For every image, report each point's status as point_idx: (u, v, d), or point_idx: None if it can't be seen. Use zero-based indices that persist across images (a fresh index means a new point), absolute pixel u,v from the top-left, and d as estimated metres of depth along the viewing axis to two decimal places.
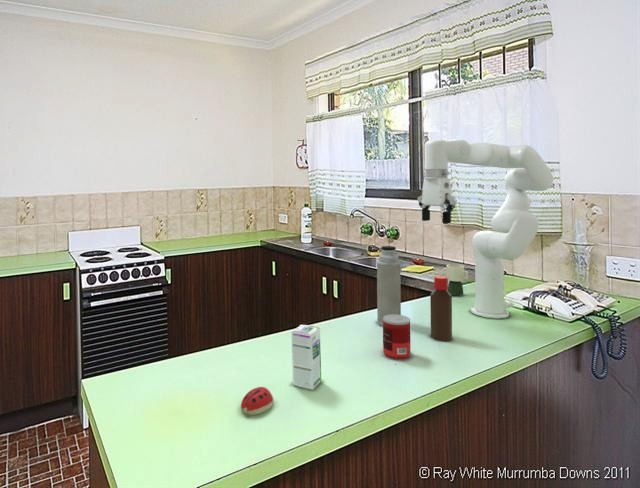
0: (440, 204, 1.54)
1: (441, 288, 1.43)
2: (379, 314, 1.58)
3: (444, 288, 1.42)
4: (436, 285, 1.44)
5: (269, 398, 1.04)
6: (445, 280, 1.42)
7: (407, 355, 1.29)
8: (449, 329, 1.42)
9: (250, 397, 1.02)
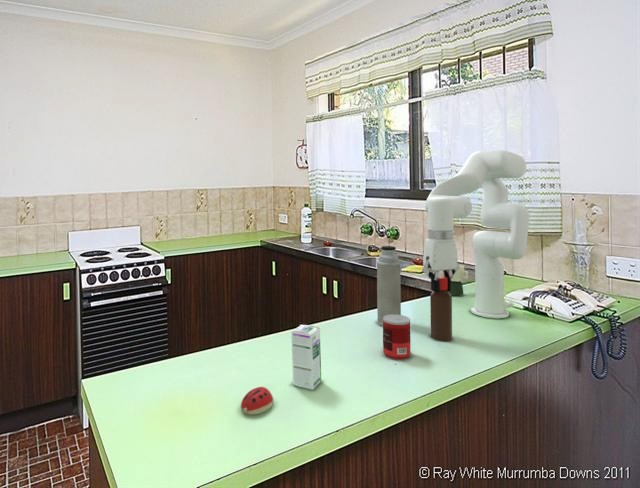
0: (455, 267, 1.43)
1: (441, 288, 1.43)
2: (379, 314, 1.58)
3: (444, 288, 1.42)
4: None
5: (269, 398, 1.04)
6: (445, 280, 1.42)
7: (407, 355, 1.29)
8: (449, 329, 1.42)
9: (250, 397, 1.02)
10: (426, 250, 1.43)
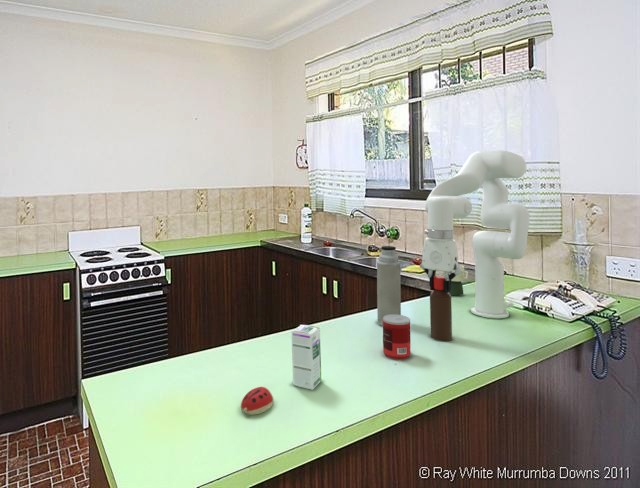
0: None
1: None
2: (379, 314, 1.58)
3: None
4: None
5: (269, 398, 1.04)
6: None
7: (407, 355, 1.29)
8: (449, 329, 1.42)
9: (250, 397, 1.02)
10: (454, 251, 1.40)
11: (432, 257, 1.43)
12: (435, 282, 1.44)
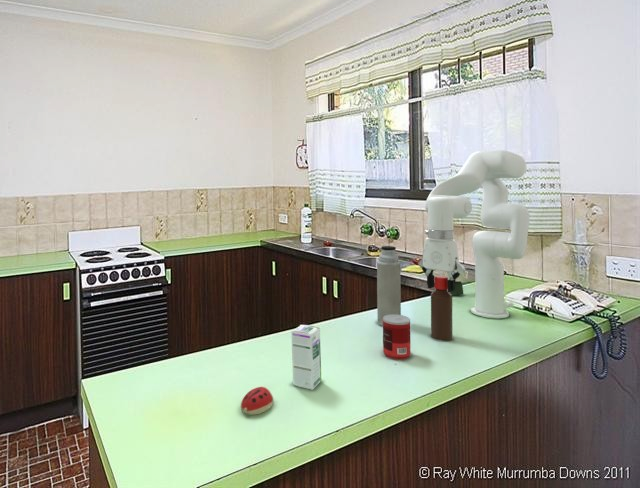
0: None
1: None
2: (379, 314, 1.58)
3: None
4: (447, 284, 1.43)
5: (269, 398, 1.04)
6: None
7: (407, 355, 1.29)
8: (449, 329, 1.42)
9: (250, 397, 1.02)
10: (455, 251, 1.40)
11: (432, 257, 1.43)
12: (436, 281, 1.44)
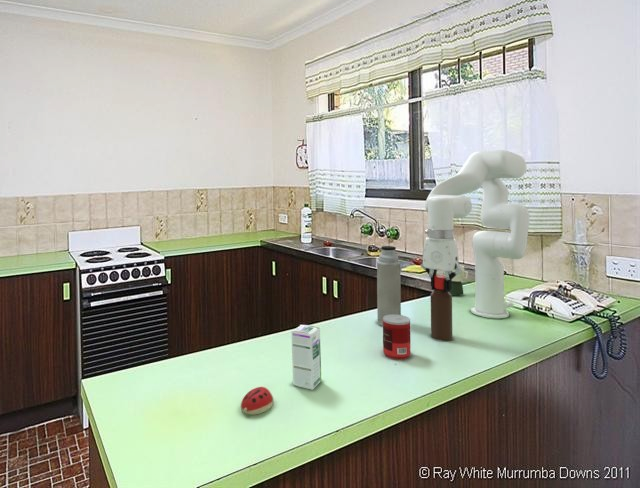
0: None
1: None
2: (379, 314, 1.58)
3: None
4: None
5: (269, 398, 1.04)
6: (434, 277, 1.45)
7: (407, 355, 1.29)
8: (449, 329, 1.42)
9: (250, 397, 1.02)
10: (455, 250, 1.40)
11: (433, 257, 1.43)
12: None
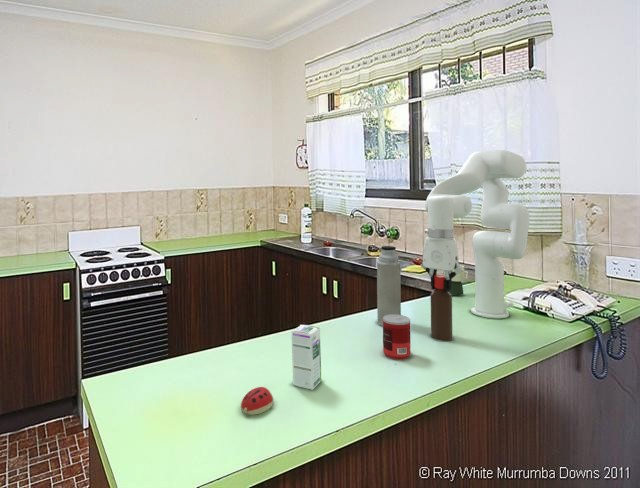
0: None
1: (439, 287, 1.43)
2: (379, 314, 1.58)
3: (442, 287, 1.42)
4: (435, 283, 1.44)
5: (269, 398, 1.04)
6: (443, 279, 1.42)
7: (407, 355, 1.29)
8: (449, 329, 1.42)
9: (250, 397, 1.02)
10: (455, 250, 1.40)
11: (433, 256, 1.43)
12: None
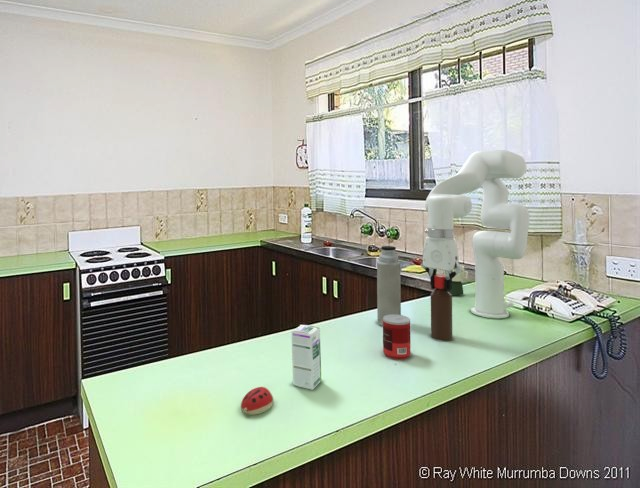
0: None
1: None
2: (379, 314, 1.58)
3: None
4: None
5: (269, 398, 1.04)
6: None
7: (407, 355, 1.29)
8: (449, 329, 1.42)
9: (250, 397, 1.02)
10: (455, 250, 1.40)
11: (433, 256, 1.43)
12: (434, 280, 1.44)
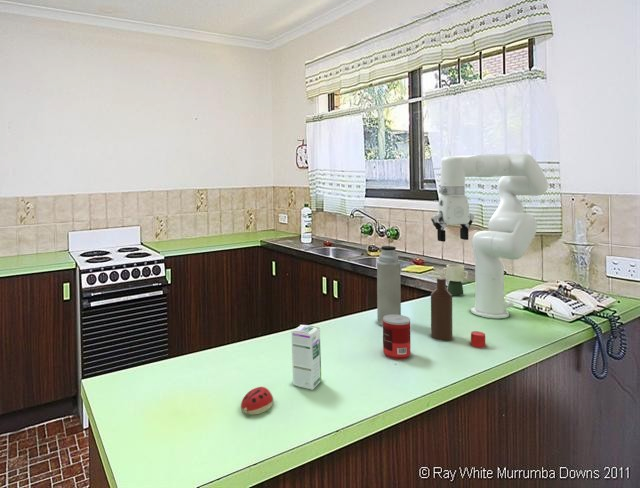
0: None
1: None
2: (379, 314, 1.58)
3: None
4: None
5: (270, 398, 1.04)
6: None
7: (407, 355, 1.29)
8: (449, 329, 1.42)
9: (250, 397, 1.02)
10: None
11: (455, 213, 1.52)
12: (477, 340, 1.36)
